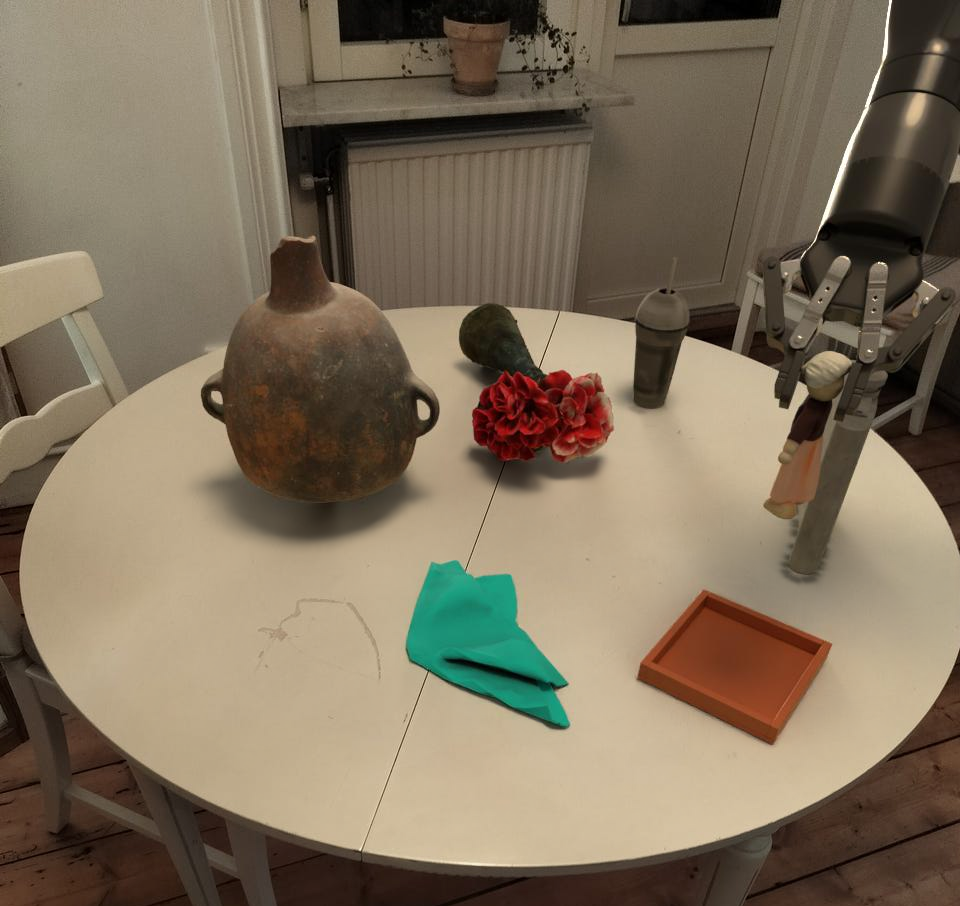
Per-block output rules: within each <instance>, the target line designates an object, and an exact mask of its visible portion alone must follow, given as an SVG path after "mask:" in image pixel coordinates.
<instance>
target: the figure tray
mask: <svg viewBox="0 0 960 906" xmlns="http://www.w3.org/2000/svg"><path fill="white" fill-rule="evenodd" d="M832 647H833V643H831V642H829V641H827V640H824V639H822V638H820V637H817V636H816V635H813V634H810V633H808V632H806V631H803V630H801V629H798V628H797V627H794V626H792V625H789V624H786V623H784V622H782V621H780V620H777V619H775V618H773V617H771V616H768V615H766V614H763V613H761V612H758V611H757V610H754V609H752V608H749V607H747V606H744V605H742V604H741V603H737V602H736V601H733V600H731V599H728V598H726V597H724V596H721V595H718V594H716V593H714V592H711V591H710V590H708V589H705V588H703V589H702V590H701V591H700V592H699V594H697V595H696V597H695V598H694V599H693V600H692V602H691V603H690V604H689V605H688V606H687V608H685V610H684V611H683V612H682V613H681V614H680V616H679V617H678V618H677V619H676V620H675V622H674V623H673V624H672V625H671V626H670V627H669V628H668V630H667V631H666V632H665V633H664V635H663V636H662V637H661V638H660V639H659V640H658V642H657V643H656V644H655V645H654V646H653V647H652V649H650V651H649V652H648V653H647V654H646V656H645V657H644V658H643V659H642V660H641V662H640V663H639V668H638V673H637V679H638V680H639V681H642V682H644V683H646V684H648V685H650V686H652V687H654V688H656V689H658V690H659V691H663V692H664V693H667V694H668V695H670V696H673V697H674V698H676V699H679V700H681V701H683V702H684V703H686V704H688V705H691V706H693V707H695V708H697V709H699V710H701V711H703V712H705V713H707V714H709V715H712V716H713V717H715V718H717V719H719V720H721V721H724V722H726V723H727V724H729V725H732V726H734V727H735V728H738V729H740V730H741V731H744V732H746V733H748V734H750V735H752V736H754V737H756V738H757V739H760V740H762V741H764V742H766V743H768V744H771V745H774V744H775V742H776V741H777V739H778V737H779V736H780V734H781V733H782V731H783V729H784V728H785V726H786V724H787V723H788V722H789V720H790V718H791V716H792V715H793V713H794V712H795V710H796V709H797V707H798V705H799V704H800V703H801V701H802V699H803V698H804V696H805V695H806V693H807V691H808V689H809V688H810V686H811V685H812V683H813V681H814V680H815V678H816V676H817V675H818V674H819V672H820V670H821V669H822V667H823V665H824V664H825V663H826V661H827V659H828V657H829V654H830V651H831V649H832Z"/></svg>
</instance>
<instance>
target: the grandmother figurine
mask: <svg viewBox="0 0 960 906" xmlns="http://www.w3.org/2000/svg"><path fill="white" fill-rule="evenodd" d="M850 360H851V359H850V358H849V357H847V355H844V354H842V353H839V352H836V351H833V350H826V351H822V352H820V353H817V354H815V355H814V356H813V357H811V358H810V360H808V361H807V362H806V363H804V366H802V368H801V374H803V375H804V382H805V383H806V390H807V393H808V394H807V396H806V397H805V399H804V400H803V401H802V403H801V404H800V405H799V406H798V408H797V410H796V411H795V415H794V417H793V419H792V422H791V426H790V429H789V430H790V431H789V432H788V435H787V437H786V440H785V442H784V444H783V446H782V450H781V452H780V453H779V454H778V456H777V461H778V462H779V463H780V467H779V469H778V472H777V475H776V477H775V479H774V481H773V484H772V487H771V490H770V493H769V497H768V498H767V499H765V501H764V502H763V504H762V506H763V508H764V509H765V510H766V511H767V512H769V513H771V514H772V515H773V516H775V517H776V518H779V519H781V520H792V519H795V517H797V515H798V508H797V505H801V504H804V503H806V502H809V501H811V500H813V499H814V497H815V493H816V489H817V485H818V479H819V473H820V466H821V454H822V447H823V433H824V430H825V425H826V423H827V420H828V417H829V415H830V412H831V409H832V399H834V398H836V397H837V396H838V395H839V394H840V393H841V391H842V389H843V387H844V376H845V375H846V374H848V373H849V371H850V368H851V365H852V363H851V361H850Z"/></svg>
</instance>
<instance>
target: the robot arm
mask: <svg viewBox="0 0 960 906" xmlns="http://www.w3.org/2000/svg"><path fill="white" fill-rule="evenodd" d="M882 51H883V52H882V56H881V61H880V64H879V67H878V69H877V72H876V74H875V76H874V80H873V82H872V85H871V87H870V90H869V93H868V96H867V98H866V102H865V106H864V108H863V111H862V112H861V113H862V114H861V116H860V119H859V121H858V123H857V125H856V127H855V129H854V132H853V133H852V135H851V137H850V140H849V142H848V144H847V146H846V149H845V152H844V154H843V158H842V160H841V164H840V167H839V170H838V172H837V175H836V178H835V181H834V184H833V187H832V189H831V193H830V196H829V198H828V201H827V204H826V207H825V210H824V213H823V216H822V218H821V221H820V223H819V228H818V230H817V233H816V236H815V238H814V241H813V242H812V244H811V245H810V246H809V247H808V248H807V249H806V250H804V252H803V253H802V255H801V257H800V258H795V259H789V260H784V261H781V260H780V259H779V258H778V257H776V256H769V257H767V258H766V259H765V260H764V261H763V265H762V289H763V302H764V303H763V304H764V305H763V306H764V316H765V317H764V319H765V331H766V332H765V333H766V344H767V346H769V348H772V349H777V350H779V351H780V352H782V353H783V355H784V356H783V358H782V362H781V365H780V368H779V369H778V370H779V371H778V373H777V376H776V380H775V382H774V388H773V396H774V399H777V400H778V408H779V409H784V410H789V409H790V406H791V404H792V401H793V397H794V394H795V392H796V389H797V385H798V383H799V380H800V377H801V374H802V373H801V368H802V366H804V365H805V361H806V354H807V352H808V351H809V349H810V347H811V346H812V344H813V343H814V341H815V339H816V337H818V336H819V335H820V333H821V331H822V329H823V328H824V326H825V324H826V323H827V322H830V323H835V322H836V323H837V322H843V323H847V324H849V325H850V326H853V327H856V328H859V329H858V335H857V348H856V349H857V350H856V357H855V358H856V359H855V360H856V362H855V363H854V362H853V363H852V365H851V368H850V371H849V374H848V377H847V380H846V383H845V386H844V388H843V391H842V394H841V397H840V400H839V403H838V406H837V409H836V412H835V415H834V419H833V420H836V421H840V422H843V420H844V417H845V414H846V415H851V416H853V415H854V414H855V412H856V411H857V410H858V407H859V405H860V402H861V399H862V396H863V393H864V390H865V387H866V385H867V382H868V379H869V377H870V376H871V375H872V374H873V373H875V372H877V371H886V373H890V374H893V373H896V372H898V371H899V370H900V369H901V368H902V367H903V366H904V365H905V363H906V362H907V361H908V360H909V359H910V358H911V357H912V355H913V354H914V353H915V352H916V351H917V350H918V348H920V346H921V345H922V344H923V343H924V342H925V341H926V339H928V337H929V336H930V335H931V334H932V333H933V332H934V330H935V329H936V328H937V327H938V326H939V325H940V323H941V322H942V321H943V320H944V318H946V316H947V315H948V313H949V311H950V309H951V307H952V305H953V303H954V301H955V300H956V291H955V290H954V289H953V288H952V287H945V286H944V287H942V288H940V289H939V288H938V287H936V286H935V285H934V284H931V283H930V282H928V281H927V280H925V279H924V277H925V270H924V267H923V258H924V255H925V253H926V251H927V250H926V249H927V246H928V243H929V241H930V238H931V236H932V233H933V230H934V227H935V223H936V220H937V218H938V215H939V213H940V209H941V206H942V203H943V201H944V198H945V196H946V194H947V193H948V190H949V188H950V187H949V186H950V181H951V178H952V174H953V173H954V172H953V171H954V169H955V166H956V163H957V159H958V155H959V151H960V0H889V5H888V11H887V17H886V23H885V33H884V44H883V50H882ZM798 277H799V278H801V281H802V284H803V286H804V289H805V292H806V295H807V297H808V301H809V303H808V304H807V306H806V308H805V310H804V312H803V315H802V316H801V318H800V320H799V322H798V324H797V325H796V327H795V328H794V329H792V328H791V327H789V326H788V325H786V320H785V318H786V317H785V306H784V295H785V294H788V293H789V292H791V290H792V288H793V282H794V281H795V280H796V279H797V278H798ZM912 297H913V299H914V300H915V303H914V306H913V309H912V312H911V313H912V316H913V318H914V319H913V320H912V321H911V322H910V323H909V325H907V327H906V328H905V329H904V330H903V331H902V332H901V334H900V335H899V336H898V337H897V338H896V339H895V340H894V342H892V344H891V345H888V346H881V347H880V338H881V330H882V324H883V319H884V318H886V317H887V316H888V315H889V314H891V313H892V312H894V311H895V310H896V309H897V308H899V307H901V306H902V305H903V304H904V303H906V302H907V301H908V300H909V299H911V298H912Z"/></svg>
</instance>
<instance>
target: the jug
mask: <svg viewBox="0 0 960 906" xmlns="http://www.w3.org/2000/svg"><path fill="white" fill-rule="evenodd" d="M269 261H270V265H269V266H270V289H269V291H267V292H266V293H264V294H262V295H261V296H259V297H258V298H256V299H255V300H254V301H253V302H252V303H251V304H249V305H248V306H247V307H246V309H244V311H243V312H242V314H241V315H240V316H239V318H238V319H237V321H236V324H235V326H234V328H233V330H232V332H231V334H230V337H229V340H228V343H227V346H226V351H225V355H224V359H223V367H222V368H221V369H220V370H218V371H217V372H215V373H213V374H211V375H210V376H209V377H208V378H207V379H206V380H205V382H204V383H203V385H202V387H201V389H200V399H201V403H202V407H203V409H204V411H205V412H206V413H207V414H208V415H209V416H210V417H212V418H213V419H215V420H217V421H219V422H221V423H222V424H224V426H225V429H226V433H227V437H228V441H229V443H230V446H231V450H232V451H233V455H234V457H235V460H236V463H237V464H238V466H239V468H240V470H241V472H242V473H243V474H244V476H245V477H246V478H247V479H248V481H250V482H251V483H252V484H253V485H254V486H256V487H257V488H258V489H260V490H262V491H264V492H265V493H268V494H270V495H273V496H275V497H278V498H282V499H285V500H289V501H293V502H300V503H307V504H308V503H309V504H323V503H325V504H326V503H327V504H328V503H336V502H337V503H338V502H345V501H350V500H355V499H360V498H365V497H367V496H370V495H373V494H377V493H378V492H380V491H382V490H384V489H386V488H387V487H389V486H391V484H394V483H395V482H396V481H397V480H398V479H399V478H400V477H401V476H402V474H404V472H405V471H406V470H407V468H408V466H409V465H410V462H411V460H412V458H413V455H414V452H415V448H416V445H417V439H419V438H420V437H423V436H425V435H426V434H428V433H429V432H430V431H432V430H433V429H434V428H435V426H436V425H437V423H438V421H439V417H440V412H441V407H440V402H439V399H438V397H437V394H436V392H435V391H434V390H433V389H432V388H431V386H429V385H428V383H426V382H425V381H424V380H422V379H421V378H420V377H419V376H417V374H416V373H415V372H414V370H413V368H412V366H411V363H410V361H409V358H408V356H407V354H406V351H405V349H404V347H403V345H402V342H401V340H400V338H399V337H398V334H397V332H396V330H395V328H394V326H393V325H392V324H391V322H390V320H389V319H388V317H387V316H386V315H385V313H384V312H383V311H382V310H381V309H380V308H379V306H377V304H375V302H374V301H372V300H371V299H370V298H368V297H367V296H366V295H364V294H363V293H361V292H359V291H357V290H355V288H354V289H353V288H351V287H348V286H346V285H343V284H341V283H337V282H332V281H330V280H329V279H328V276H327V275H326V272H325V270H324V267H323V264H322V260H321V256H320V252H319V246H318V240H317V237H316V236H315V235H311V236H310V235H309V236H308V237H307V238H302V237H298V236H292V235H289V236H284V237H282V238H281V239H280V241H279V243H278V245H277V247H276V248H275V249H274V251H272V252H271V253H270V254H269ZM212 392H219V394H220V395H221V400H222V403H219V402H217V401H216V400H214V399H213V397H212ZM418 401H421V402H423V403H424V404H425V405H426V406H427V408H428V409H429V417H428V418H425V419H421V418H420V416H419V408H418V407H419V406H418Z"/></svg>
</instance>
